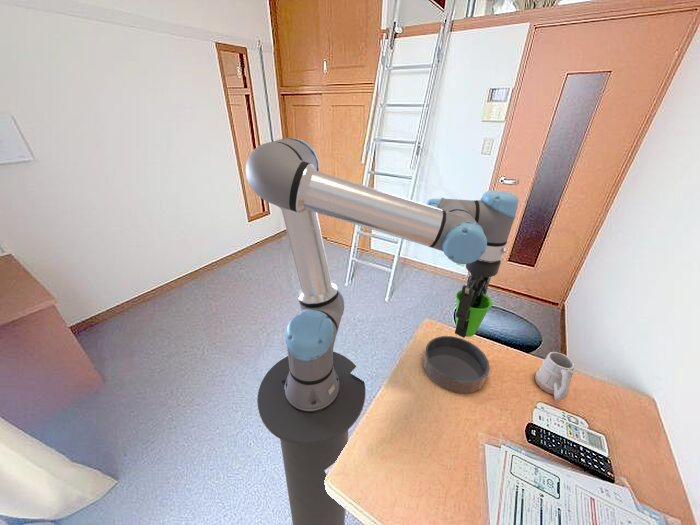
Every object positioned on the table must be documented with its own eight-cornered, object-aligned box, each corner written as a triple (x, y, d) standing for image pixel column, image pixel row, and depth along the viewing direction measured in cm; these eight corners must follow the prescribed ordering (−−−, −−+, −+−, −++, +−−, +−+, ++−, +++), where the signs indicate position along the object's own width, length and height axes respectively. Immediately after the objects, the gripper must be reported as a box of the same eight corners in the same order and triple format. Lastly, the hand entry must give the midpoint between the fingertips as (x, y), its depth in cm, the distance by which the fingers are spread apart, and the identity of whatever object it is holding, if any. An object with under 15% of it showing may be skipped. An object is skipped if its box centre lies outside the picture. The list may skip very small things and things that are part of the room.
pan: (413, 372, 86) (415, 361, 84) (436, 338, 99) (438, 328, 97) (476, 405, 76) (480, 394, 74) (491, 363, 90) (495, 352, 88)
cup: (442, 328, 81) (449, 296, 76) (460, 316, 86) (468, 285, 81) (470, 347, 75) (480, 313, 70) (488, 333, 80) (499, 300, 75)
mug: (560, 377, 85) (576, 348, 80) (572, 412, 75) (592, 381, 70) (531, 370, 87) (545, 341, 82) (540, 403, 78) (556, 372, 72)
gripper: (485, 275, 61) (463, 354, 72) (513, 250, 73) (490, 321, 84) (452, 263, 66) (436, 339, 77) (484, 241, 78) (465, 310, 89)
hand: (464, 329), depth 80 cm, fingers closed on cup, 5 cm apart
